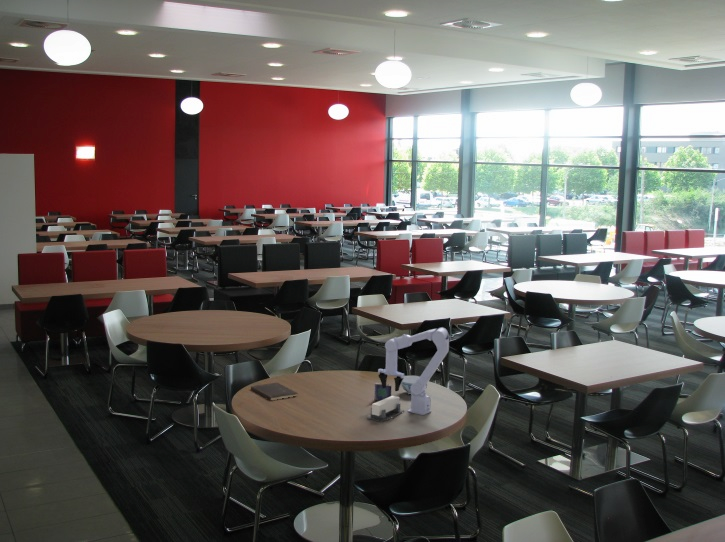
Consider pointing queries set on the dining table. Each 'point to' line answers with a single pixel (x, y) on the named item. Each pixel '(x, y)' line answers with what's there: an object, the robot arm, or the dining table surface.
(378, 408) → the rail
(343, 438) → the dining table surface
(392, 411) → the cup brackets
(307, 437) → the dining table surface
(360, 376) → the dining table surface
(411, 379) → the chinaware
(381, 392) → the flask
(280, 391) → the hardcover book
